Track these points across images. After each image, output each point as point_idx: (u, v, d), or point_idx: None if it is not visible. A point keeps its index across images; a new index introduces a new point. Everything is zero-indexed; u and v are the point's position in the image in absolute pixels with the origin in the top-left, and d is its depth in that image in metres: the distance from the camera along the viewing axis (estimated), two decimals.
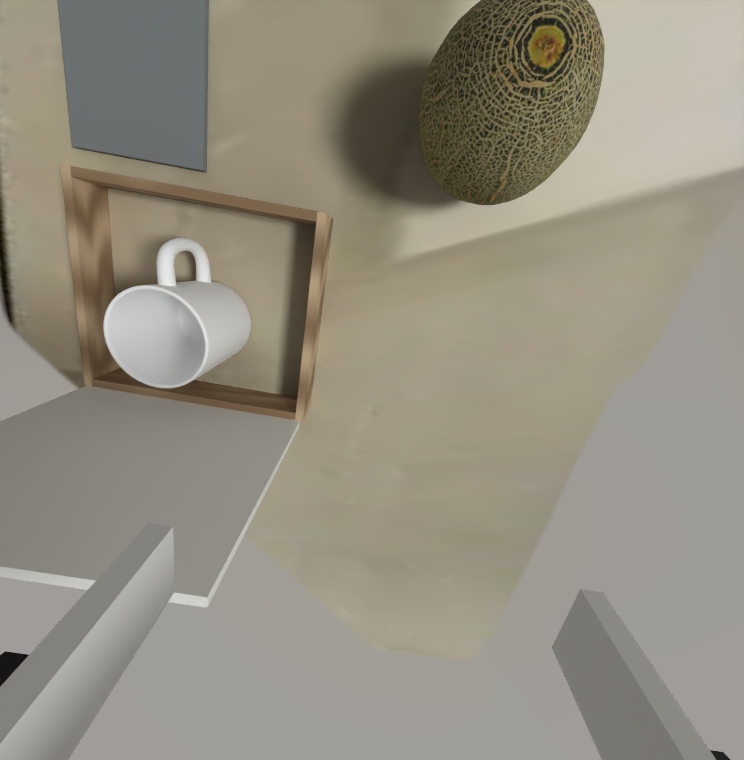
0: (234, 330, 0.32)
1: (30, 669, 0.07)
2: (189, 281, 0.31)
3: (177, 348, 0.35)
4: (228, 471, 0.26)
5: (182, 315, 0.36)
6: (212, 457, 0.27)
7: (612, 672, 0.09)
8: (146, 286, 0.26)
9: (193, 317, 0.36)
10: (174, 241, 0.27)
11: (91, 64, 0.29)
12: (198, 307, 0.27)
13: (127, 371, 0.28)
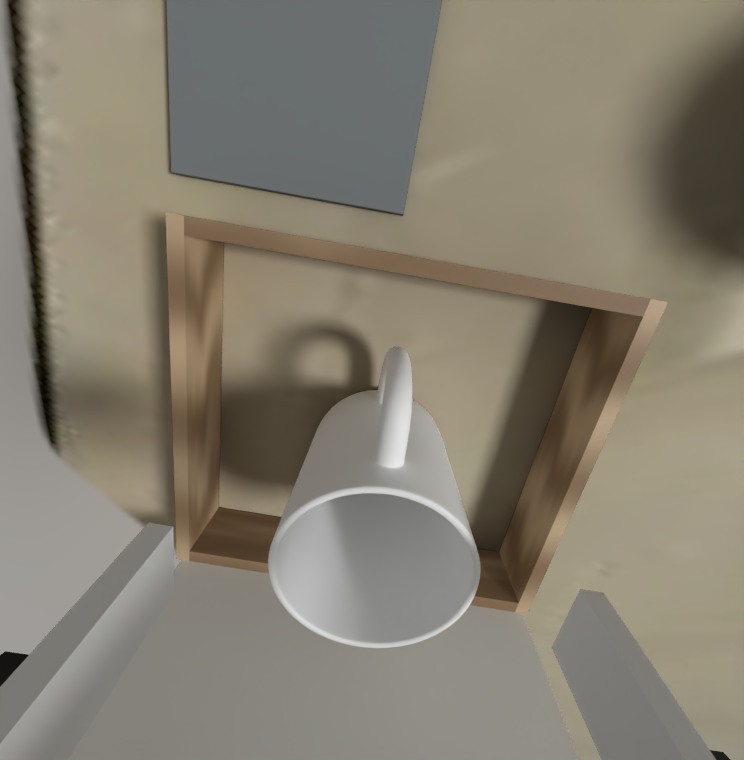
0: None
1: (30, 669, 0.07)
2: (380, 414, 0.18)
3: (329, 501, 0.21)
4: None
5: None
6: None
7: (613, 672, 0.09)
8: (376, 489, 0.12)
9: None
10: (406, 375, 0.13)
11: (219, 17, 0.15)
12: (460, 513, 0.13)
13: (304, 623, 0.14)
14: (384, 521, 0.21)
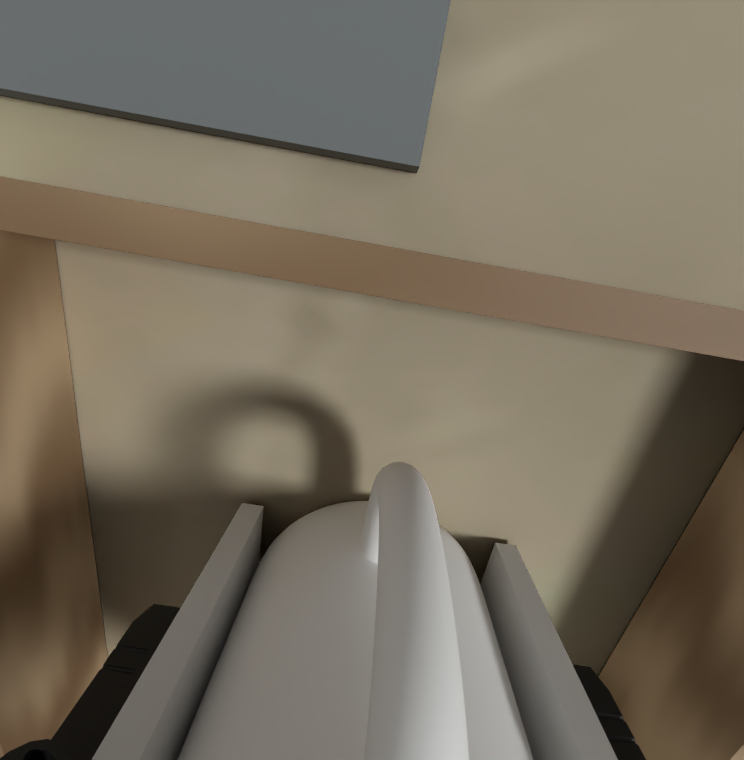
0: None
1: (187, 614, 0.08)
2: (366, 605, 0.08)
3: None
4: None
5: None
6: None
7: (509, 608, 0.10)
8: None
9: None
10: (445, 672, 0.04)
11: None
12: None
13: None
14: None
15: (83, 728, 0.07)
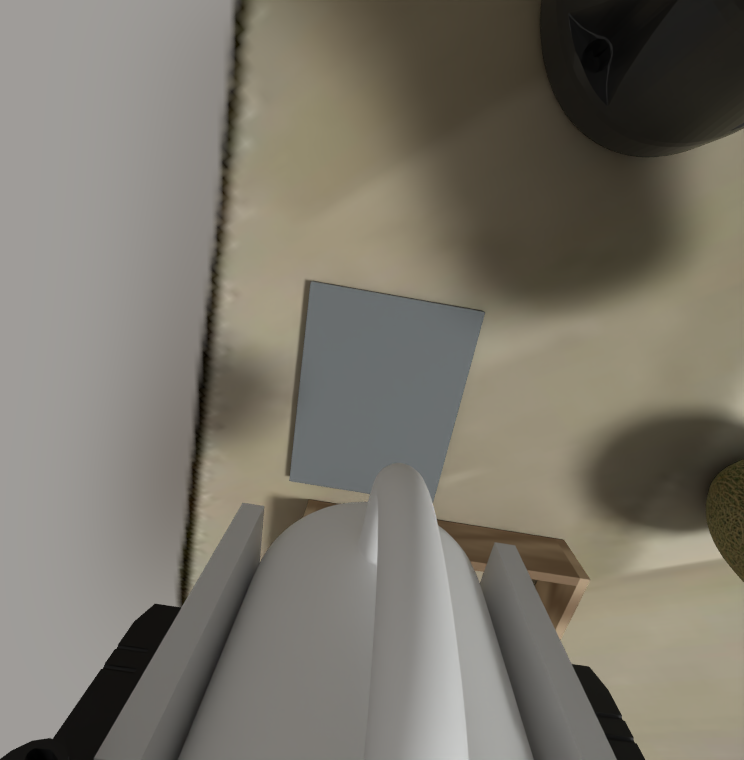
0: None
1: (188, 614, 0.08)
2: (366, 607, 0.08)
3: None
4: None
5: None
6: None
7: (508, 607, 0.10)
8: None
9: None
10: (445, 677, 0.04)
11: (327, 414, 0.26)
12: None
13: None
14: None
15: (85, 728, 0.07)
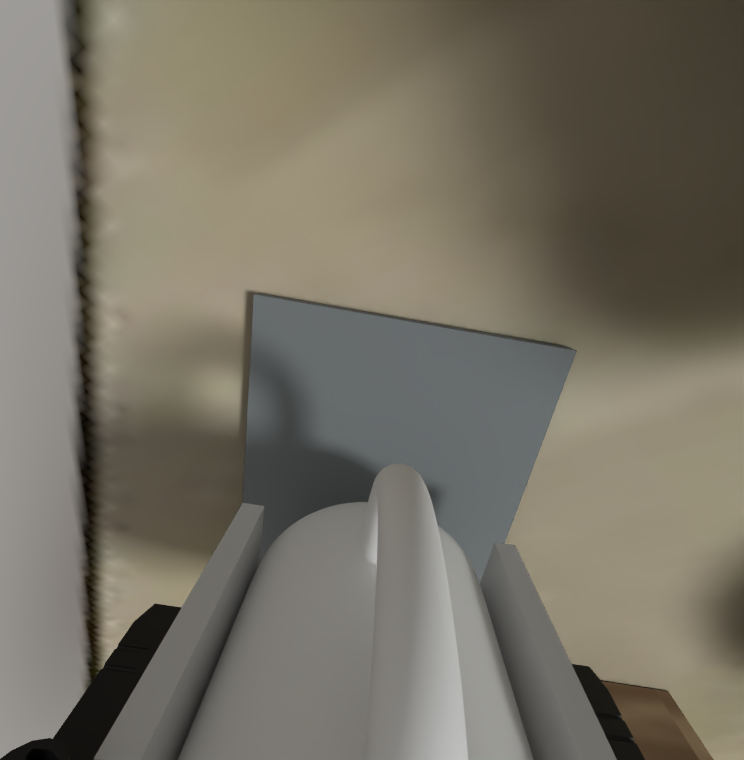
0: None
1: (188, 614, 0.08)
2: (366, 608, 0.08)
3: None
4: None
5: None
6: None
7: (509, 607, 0.10)
8: None
9: None
10: (443, 677, 0.04)
11: (294, 516, 0.15)
12: None
13: None
14: None
15: (85, 728, 0.07)
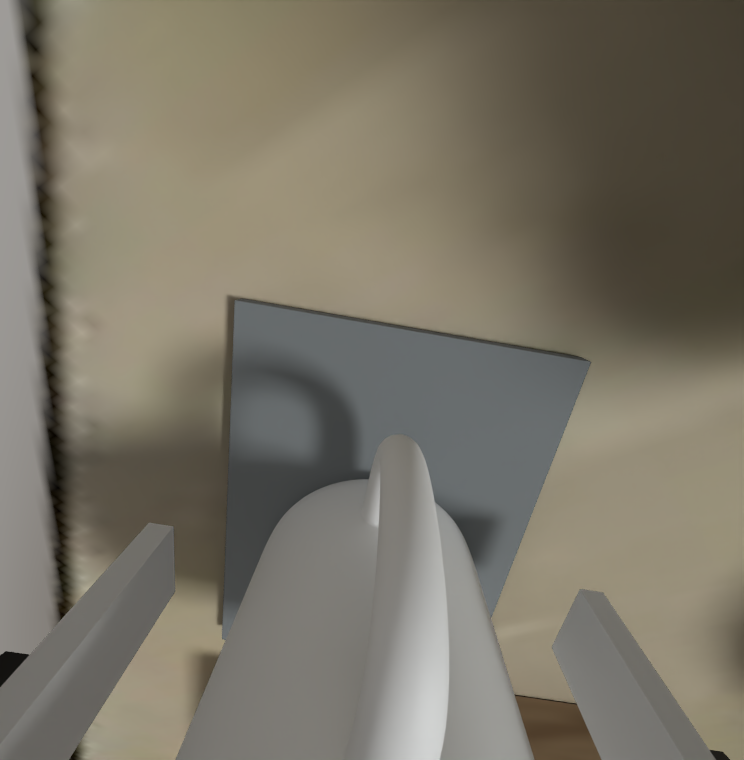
0: None
1: (31, 669, 0.07)
2: (368, 559, 0.09)
3: None
4: None
5: None
6: None
7: (612, 672, 0.09)
8: None
9: None
10: (430, 568, 0.05)
11: None
12: None
13: None
14: None
15: None
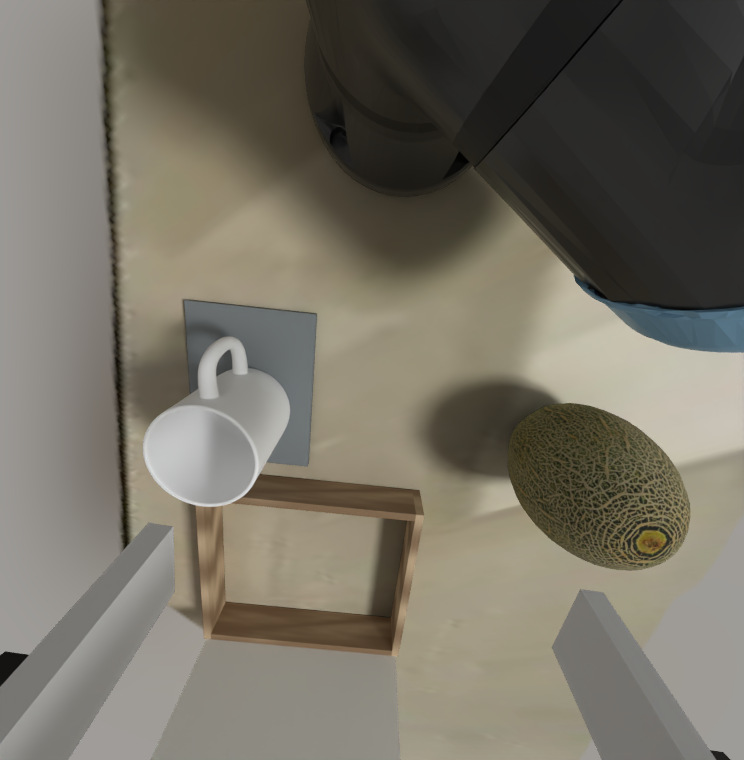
0: (278, 426, 0.29)
1: (30, 669, 0.07)
2: (227, 378, 0.29)
3: (214, 442, 0.32)
4: None
5: None
6: (345, 751, 0.32)
7: (612, 672, 0.09)
8: (189, 406, 0.23)
9: None
10: (214, 349, 0.25)
11: None
12: (245, 421, 0.24)
13: (170, 492, 0.25)
14: (251, 453, 0.33)
15: None
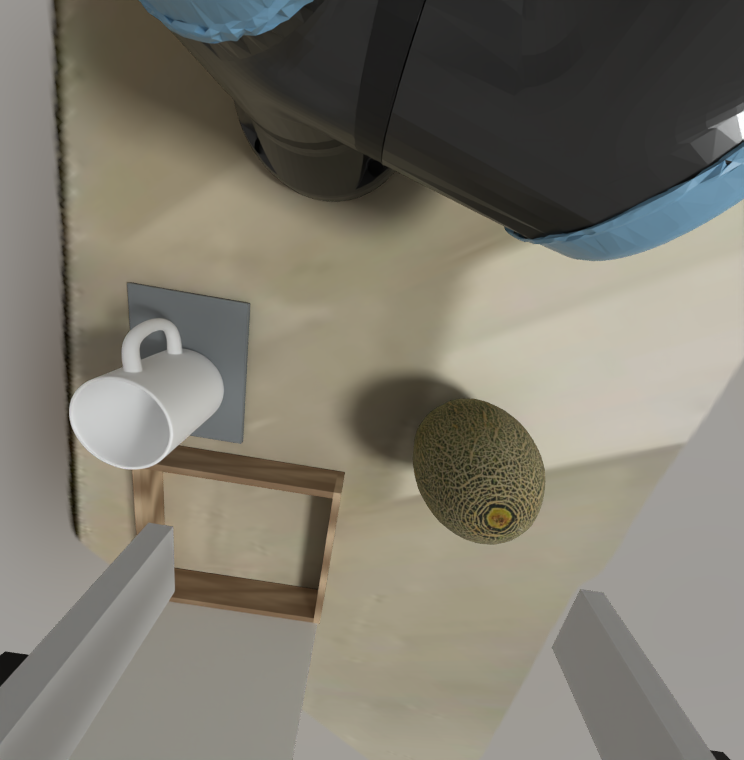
0: (204, 403, 0.32)
1: (30, 669, 0.07)
2: (159, 356, 0.32)
3: (150, 415, 0.35)
4: (267, 720, 0.34)
5: None
6: (253, 699, 0.35)
7: (613, 673, 0.09)
8: (110, 377, 0.26)
9: None
10: (139, 328, 0.28)
11: None
12: (162, 394, 0.27)
13: (94, 454, 0.28)
14: None
15: None
